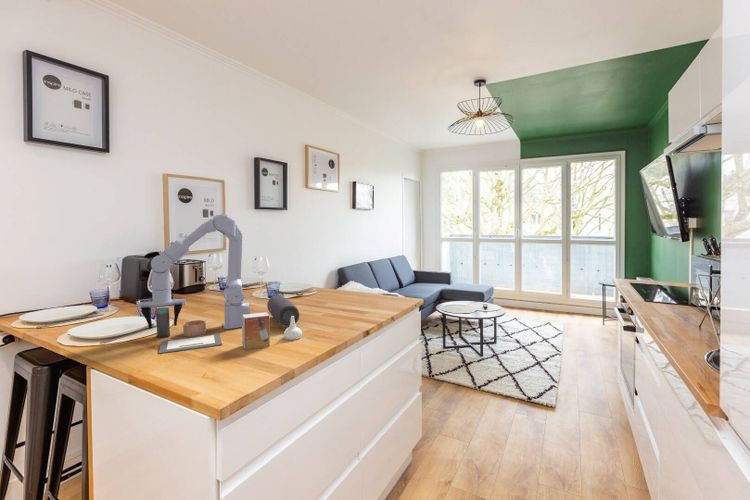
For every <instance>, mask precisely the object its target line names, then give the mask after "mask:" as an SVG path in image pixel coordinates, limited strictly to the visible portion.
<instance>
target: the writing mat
mask: <svg viewBox="0 0 750 500" xmlns="http://www.w3.org/2000/svg"><path fill="white" fill-rule="evenodd" d="M218 346H223V344H222V338H221V334H220V332H219V333H211V334H203V335H199V336H193V337H187V336H185V337H181V338H180V337H179V338H174V339H172V338H171V339H163V340H161V343H160V346H159V349H158V350H159V351H158V355H163V354H170V353H177V352H183V351H191V350H197V349H203V348H211V347H218Z"/></svg>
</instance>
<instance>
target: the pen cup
mask: <svg viewBox="0 0 750 500" xmlns="http://www.w3.org/2000/svg"><path fill="white" fill-rule="evenodd" d="M206 325H207V324H206V320H202V319H197V320H190V321H186V322H183V325H182V328H183V331H182V332H183V336H184V337H194V336H201V335H206V333H207V330H206V329H207V327H206Z"/></svg>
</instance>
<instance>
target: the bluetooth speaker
mask: <svg viewBox="0 0 750 500" xmlns="http://www.w3.org/2000/svg"><path fill="white" fill-rule="evenodd" d="M266 306H267V310H268V312H269V314H270V315H271V317H272V318H273V319H274V320H275V321H276V322H277V323H278V324H279V326H282V327H285V328H289V326H290V321H291V316H294V320H295V325H296V324H297V323H298V322H299V319H300V311H299V309H298V308H297V306H296V305H295V304H294V303H293V302H292V301H291V300H289V299H288V298H287V297H285V296H284V295H279V294H276V295H273V296H271V297H270V298H269V299H268V301H267V305H266Z"/></svg>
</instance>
